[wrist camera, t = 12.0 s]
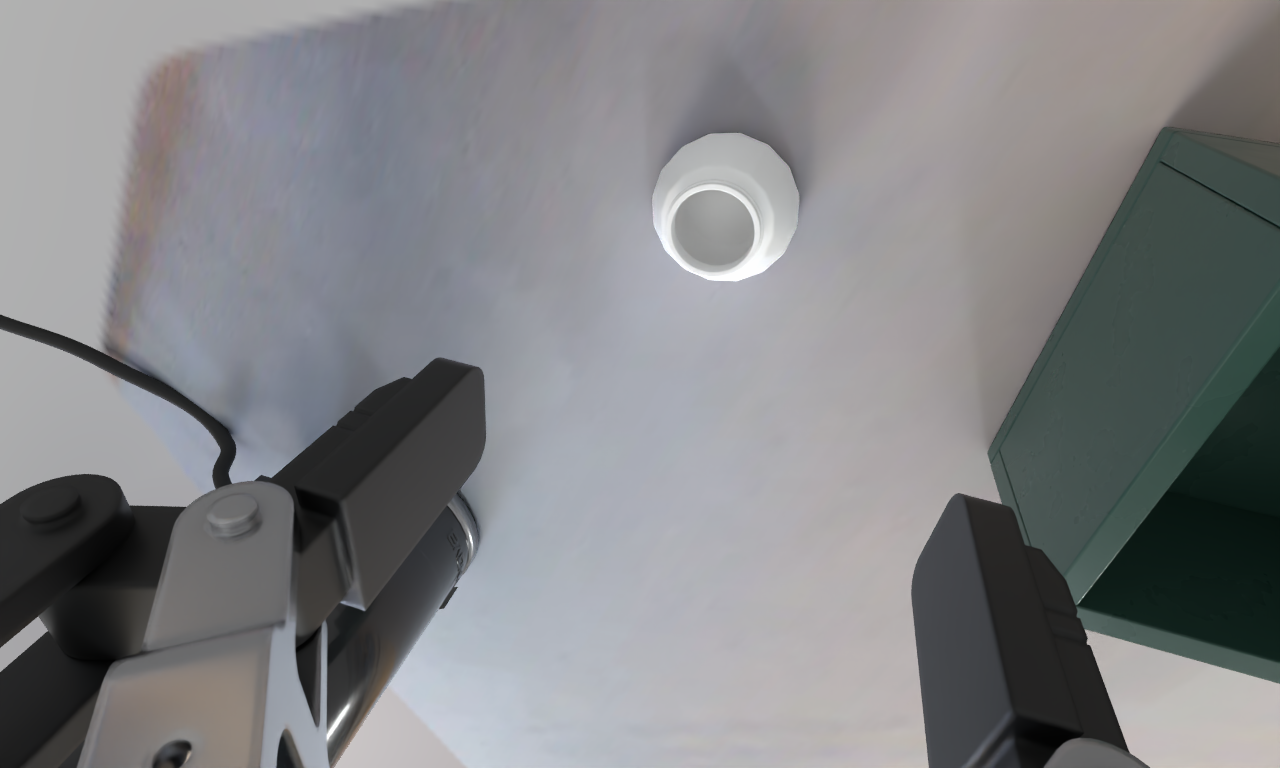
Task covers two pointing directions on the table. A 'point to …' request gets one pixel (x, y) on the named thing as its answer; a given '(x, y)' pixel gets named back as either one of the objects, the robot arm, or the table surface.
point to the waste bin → (1166, 414)
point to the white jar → (725, 206)
